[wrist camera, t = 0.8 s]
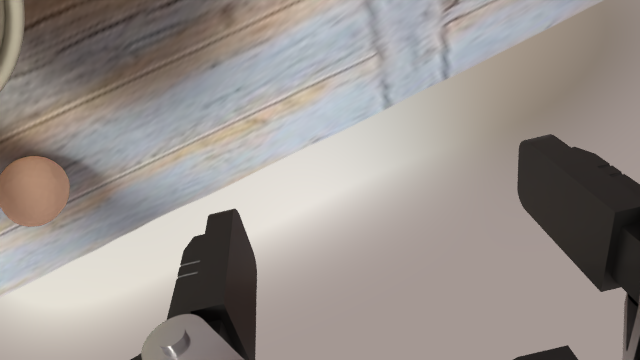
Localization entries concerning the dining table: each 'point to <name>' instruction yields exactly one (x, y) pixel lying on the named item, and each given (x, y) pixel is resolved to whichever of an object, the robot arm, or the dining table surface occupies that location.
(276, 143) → the dining table surface
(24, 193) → the egg
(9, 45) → the canister
